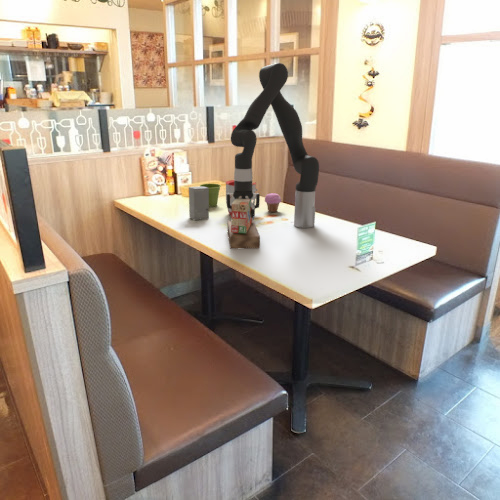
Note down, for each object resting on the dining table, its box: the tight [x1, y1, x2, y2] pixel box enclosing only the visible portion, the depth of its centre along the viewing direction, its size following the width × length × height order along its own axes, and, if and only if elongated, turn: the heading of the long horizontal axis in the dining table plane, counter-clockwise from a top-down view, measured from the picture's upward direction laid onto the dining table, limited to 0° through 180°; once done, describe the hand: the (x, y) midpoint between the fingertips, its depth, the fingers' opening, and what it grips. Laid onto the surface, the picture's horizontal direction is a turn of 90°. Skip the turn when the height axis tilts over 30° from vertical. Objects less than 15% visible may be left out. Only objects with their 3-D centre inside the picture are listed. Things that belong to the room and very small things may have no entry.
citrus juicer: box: [224, 179, 258, 217], centre depth 230 cm, size 16×17×20 cm
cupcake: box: [264, 192, 282, 213], centre depth 239 cm, size 9×9×10 cm
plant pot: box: [199, 183, 222, 207], centre depth 250 cm, size 12×12×11 cm
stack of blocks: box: [230, 199, 255, 234], centre depth 190 cm, size 21×6×12 cm, turn 171°
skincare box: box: [188, 185, 210, 221], centre depth 223 cm, size 8×7×16 cm
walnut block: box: [226, 220, 261, 250], centre depth 193 cm, size 12×24×5 cm, turn 6°
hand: (243, 217), depth 190 cm, fingers open, 7 cm apart
